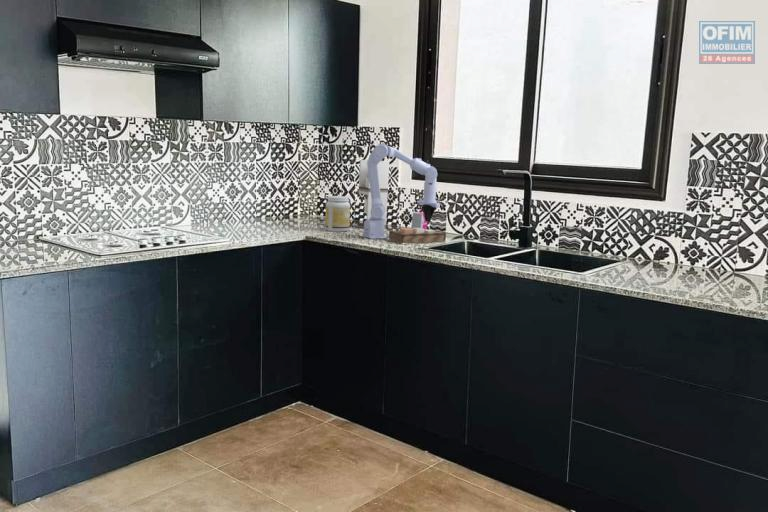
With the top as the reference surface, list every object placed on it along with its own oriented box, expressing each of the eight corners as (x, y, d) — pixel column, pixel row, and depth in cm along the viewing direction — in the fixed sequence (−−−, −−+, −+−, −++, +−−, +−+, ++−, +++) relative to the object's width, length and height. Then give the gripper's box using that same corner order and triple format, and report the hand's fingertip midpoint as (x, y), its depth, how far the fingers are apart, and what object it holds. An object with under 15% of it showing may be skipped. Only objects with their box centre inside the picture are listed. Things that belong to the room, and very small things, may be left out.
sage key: (427, 238, 324) (427, 231, 324) (422, 237, 328) (422, 229, 327) (435, 238, 327) (435, 230, 326) (429, 236, 330) (430, 229, 330)
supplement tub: (353, 230, 348) (355, 197, 345) (341, 233, 337) (342, 198, 334) (333, 228, 353) (334, 195, 350) (320, 230, 342) (321, 196, 340)
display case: (375, 226, 369) (378, 160, 363) (385, 229, 360) (389, 161, 354) (356, 226, 363) (360, 159, 357) (366, 229, 354) (370, 161, 348)
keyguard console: (402, 244, 313) (403, 234, 312) (388, 239, 323) (389, 230, 322) (445, 242, 326) (445, 233, 325) (430, 238, 336) (431, 229, 335)
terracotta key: (404, 237, 317) (405, 229, 317) (399, 235, 321) (399, 228, 320) (412, 236, 320) (413, 229, 319) (407, 235, 323) (407, 228, 323)
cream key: (416, 236, 321) (416, 229, 320) (411, 235, 324) (411, 227, 324) (424, 236, 323) (424, 229, 323) (418, 235, 327) (419, 227, 326)
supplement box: (420, 236, 340) (421, 213, 338) (410, 234, 343) (411, 212, 341) (426, 235, 344) (428, 212, 342) (417, 234, 348) (418, 211, 346)
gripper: (445, 194, 319) (443, 223, 322) (427, 190, 331) (425, 219, 334) (433, 194, 316) (431, 223, 318) (415, 190, 328) (413, 219, 330)
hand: (427, 221), depth 326 cm, fingers closed
